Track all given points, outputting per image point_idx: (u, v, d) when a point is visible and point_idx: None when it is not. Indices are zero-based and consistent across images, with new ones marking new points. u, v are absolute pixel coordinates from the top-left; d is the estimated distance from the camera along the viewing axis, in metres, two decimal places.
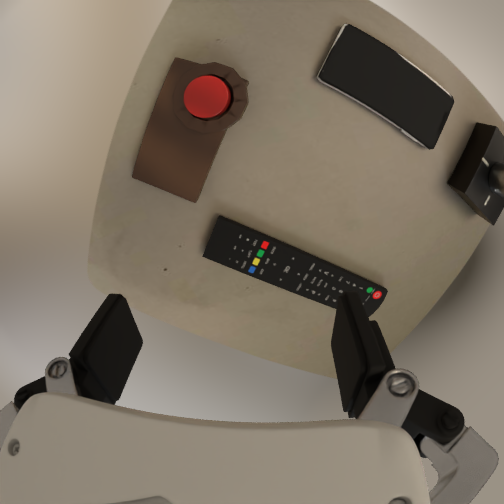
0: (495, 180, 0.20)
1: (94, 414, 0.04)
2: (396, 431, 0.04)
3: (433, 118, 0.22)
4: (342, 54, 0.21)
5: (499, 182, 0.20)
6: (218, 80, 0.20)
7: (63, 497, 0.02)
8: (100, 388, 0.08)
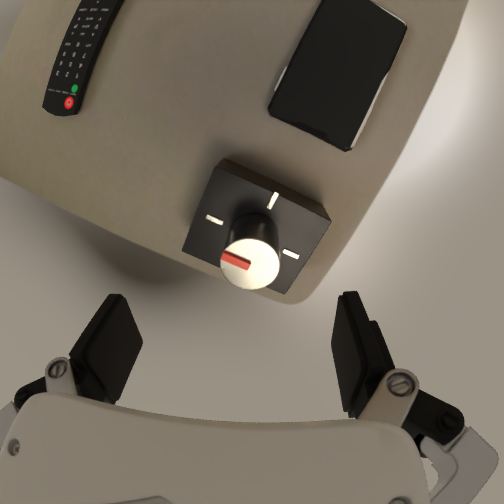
0: (249, 219, 0.20)
1: (94, 414, 0.04)
2: (396, 431, 0.04)
3: (313, 113, 0.20)
4: (367, 9, 0.14)
5: (248, 223, 0.19)
6: None
7: (63, 497, 0.02)
8: (100, 388, 0.08)
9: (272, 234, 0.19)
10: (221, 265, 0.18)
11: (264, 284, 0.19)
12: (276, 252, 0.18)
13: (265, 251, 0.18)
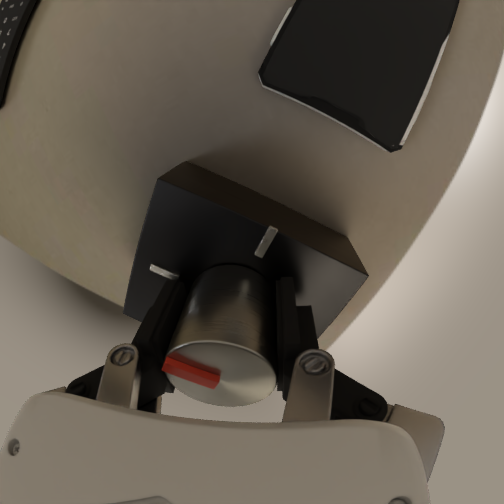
0: (221, 281, 0.11)
1: (94, 414, 0.04)
2: (396, 431, 0.04)
3: (339, 82, 0.10)
4: None
5: (218, 293, 0.10)
6: None
7: (63, 497, 0.02)
8: (163, 374, 0.09)
9: (264, 314, 0.10)
10: (167, 374, 0.09)
11: (247, 402, 0.09)
12: (270, 363, 0.08)
13: (247, 363, 0.08)
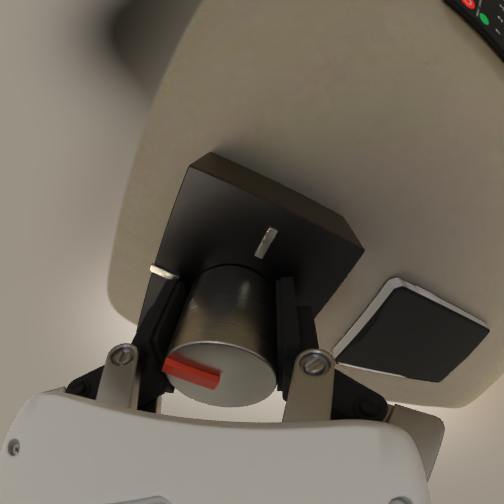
0: (220, 282, 0.11)
1: (94, 414, 0.04)
2: (396, 431, 0.04)
3: (384, 329, 0.17)
4: (461, 356, 0.19)
5: (217, 294, 0.10)
6: None
7: (63, 497, 0.02)
8: (163, 374, 0.09)
9: (264, 314, 0.10)
10: (167, 375, 0.09)
11: (247, 402, 0.09)
12: (270, 363, 0.08)
13: (246, 363, 0.08)
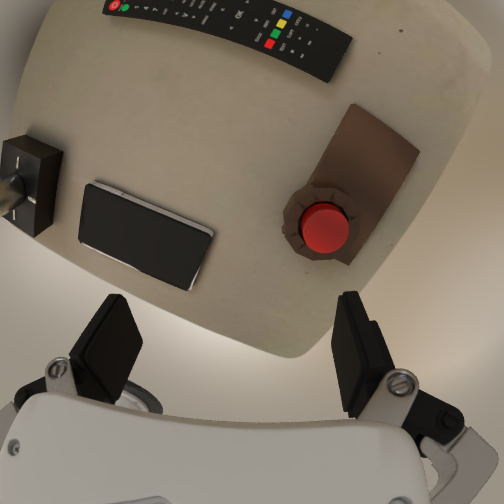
0: (4, 177, 0.20)
1: (94, 414, 0.04)
2: (396, 431, 0.04)
3: (92, 215, 0.26)
4: (190, 261, 0.28)
5: None
6: (311, 246, 0.23)
7: (63, 497, 0.02)
8: (99, 388, 0.08)
9: (6, 183, 0.19)
10: None
11: None
12: None
13: None
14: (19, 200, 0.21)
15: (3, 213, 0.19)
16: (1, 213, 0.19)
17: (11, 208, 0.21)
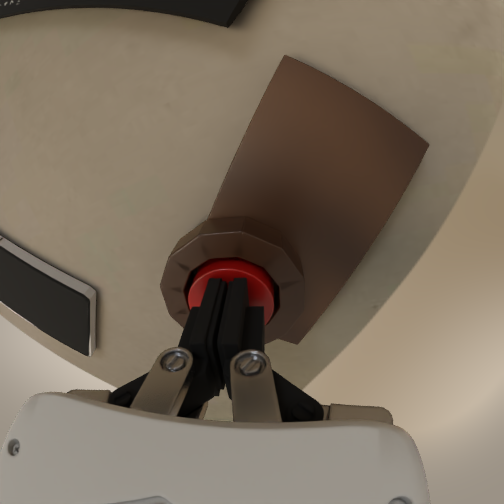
0: None
1: (94, 414, 0.04)
2: (396, 431, 0.04)
3: None
4: (78, 325, 0.18)
5: None
6: None
7: (63, 497, 0.02)
8: (213, 377, 0.09)
9: None
10: None
11: None
12: None
13: None
14: None
15: None
16: None
17: None
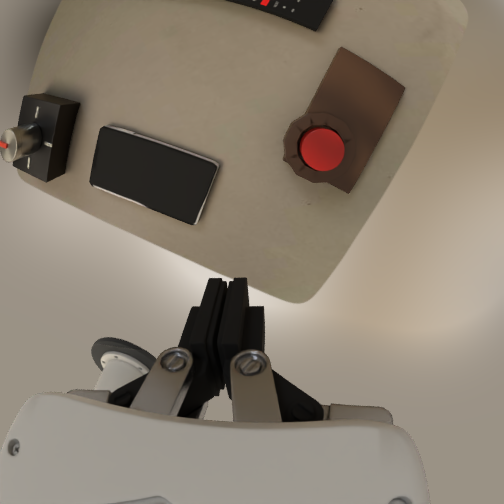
0: None
1: (94, 414, 0.04)
2: (396, 431, 0.04)
3: (105, 156, 0.27)
4: (196, 192, 0.29)
5: None
6: (310, 164, 0.24)
7: (63, 497, 0.02)
8: (213, 377, 0.09)
9: (25, 128, 0.20)
10: (0, 149, 0.19)
11: (13, 156, 0.20)
12: (14, 134, 0.19)
13: (10, 135, 0.19)
14: (36, 145, 0.23)
15: (20, 155, 0.21)
16: (18, 154, 0.20)
17: (28, 151, 0.22)
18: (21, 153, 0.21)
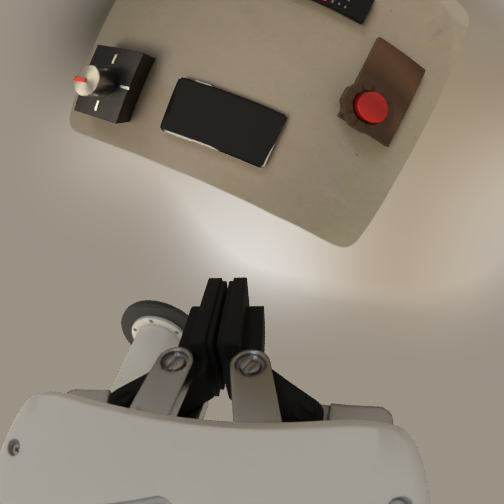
0: None
1: (94, 414, 0.04)
2: (396, 431, 0.04)
3: (181, 103, 0.31)
4: (267, 138, 0.33)
5: None
6: (364, 116, 0.28)
7: (63, 497, 0.02)
8: (213, 377, 0.09)
9: (105, 68, 0.24)
10: (74, 84, 0.23)
11: (92, 89, 0.23)
12: (98, 69, 0.22)
13: (92, 70, 0.22)
14: (112, 87, 0.26)
15: (98, 90, 0.24)
16: (97, 88, 0.24)
17: (104, 90, 0.25)
18: (100, 89, 0.24)
